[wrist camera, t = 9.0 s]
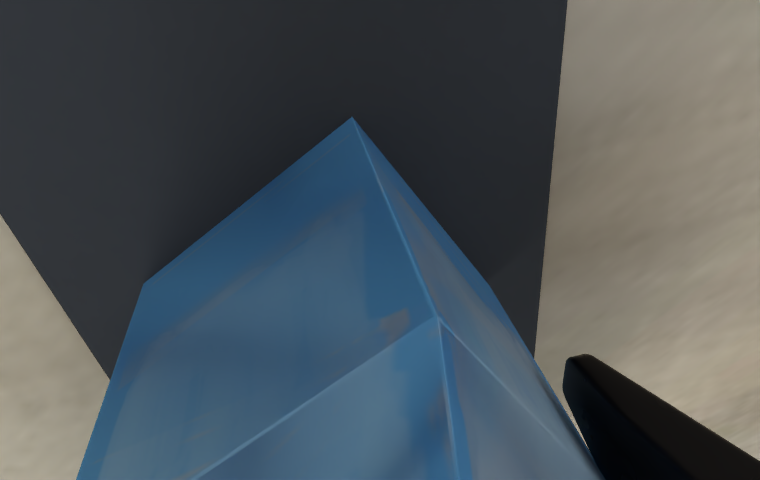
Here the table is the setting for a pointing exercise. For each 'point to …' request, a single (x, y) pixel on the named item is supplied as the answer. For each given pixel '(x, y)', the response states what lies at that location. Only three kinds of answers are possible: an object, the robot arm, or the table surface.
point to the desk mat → (266, 129)
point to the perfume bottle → (329, 348)
